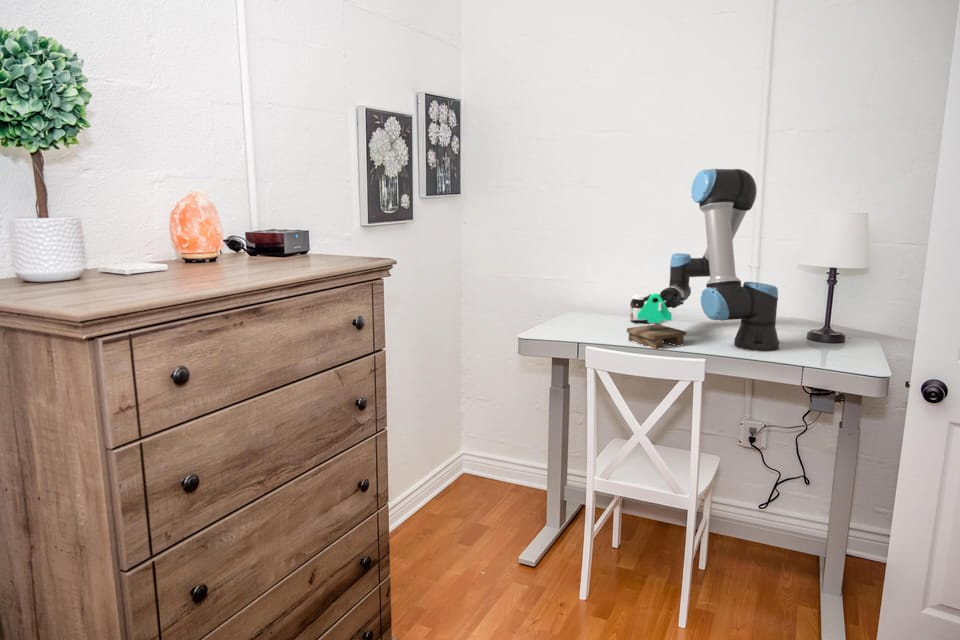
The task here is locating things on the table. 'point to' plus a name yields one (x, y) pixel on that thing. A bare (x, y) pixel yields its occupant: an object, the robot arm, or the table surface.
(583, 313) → the table surface
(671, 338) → the walnut stand
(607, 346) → the table surface
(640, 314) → the camera mount
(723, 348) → the table surface
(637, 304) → the spread jar
